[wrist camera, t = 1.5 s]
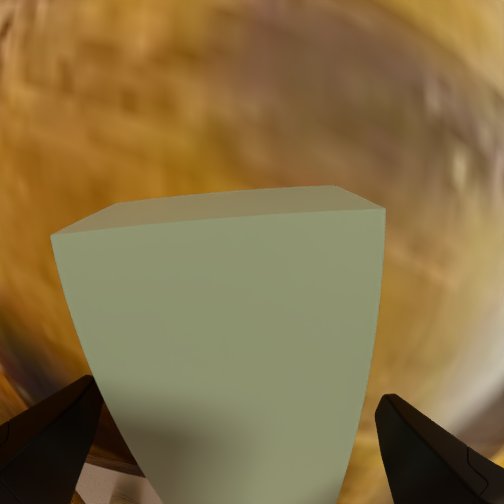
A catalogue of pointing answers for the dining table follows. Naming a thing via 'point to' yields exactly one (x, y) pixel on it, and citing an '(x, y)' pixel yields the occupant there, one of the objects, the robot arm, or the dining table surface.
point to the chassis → (114, 483)
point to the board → (231, 335)
